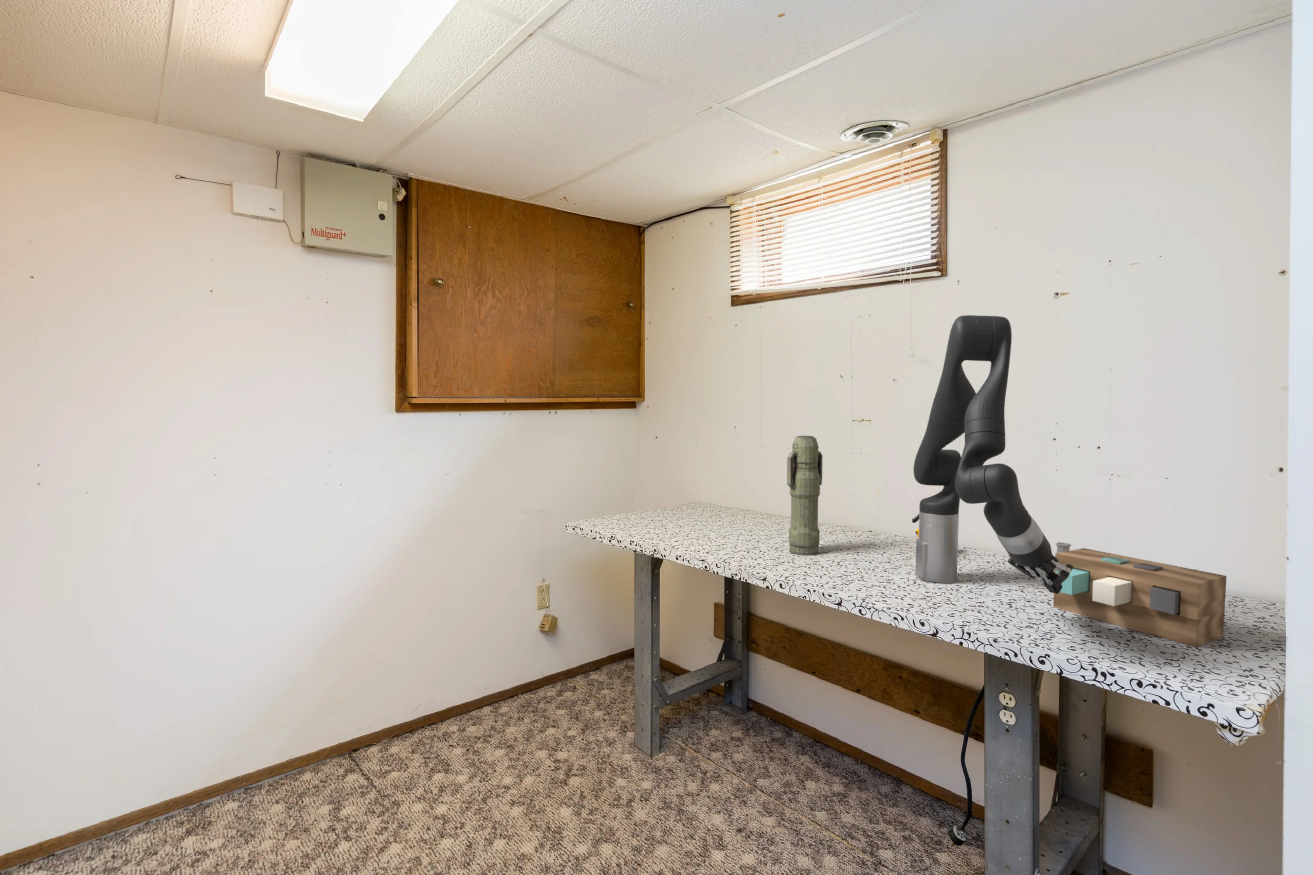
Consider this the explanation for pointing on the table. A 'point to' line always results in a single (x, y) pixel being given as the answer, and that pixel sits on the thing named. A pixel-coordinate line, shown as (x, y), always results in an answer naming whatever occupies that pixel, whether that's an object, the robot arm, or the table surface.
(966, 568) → the table surface
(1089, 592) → the block
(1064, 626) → the table surface
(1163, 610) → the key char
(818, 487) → the thermos
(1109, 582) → the key ivory
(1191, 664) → the table surface
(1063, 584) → the key teal
